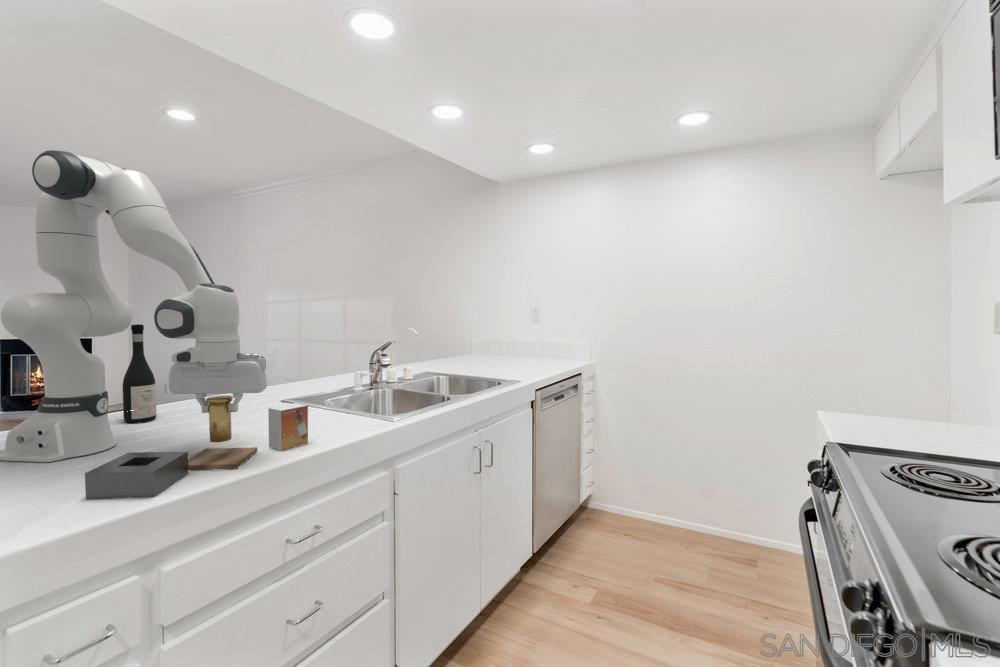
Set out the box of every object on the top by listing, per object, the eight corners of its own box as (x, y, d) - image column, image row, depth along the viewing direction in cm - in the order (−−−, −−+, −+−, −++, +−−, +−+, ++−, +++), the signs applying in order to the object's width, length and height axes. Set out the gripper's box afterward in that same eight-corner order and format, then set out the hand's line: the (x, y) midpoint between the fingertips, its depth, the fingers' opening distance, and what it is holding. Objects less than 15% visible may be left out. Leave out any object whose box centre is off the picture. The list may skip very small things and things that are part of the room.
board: (178, 470, 102) (178, 465, 102) (206, 453, 114) (205, 448, 114) (236, 469, 103) (236, 464, 103) (257, 452, 115) (257, 447, 115)
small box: (281, 451, 116) (280, 410, 115) (268, 447, 119) (267, 407, 118) (308, 443, 123) (308, 405, 122) (296, 440, 126) (295, 402, 125)
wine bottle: (162, 419, 145) (159, 324, 143) (134, 425, 137) (131, 325, 136) (145, 416, 148) (142, 323, 146) (117, 422, 140) (114, 324, 138)
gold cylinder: (203, 443, 105) (202, 400, 105) (214, 436, 110) (213, 395, 110) (227, 442, 106) (226, 399, 105) (237, 436, 111) (236, 395, 110)
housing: (85, 499, 87) (84, 473, 86) (128, 475, 99) (127, 452, 98) (154, 496, 88) (154, 471, 88) (188, 473, 100) (187, 451, 100)
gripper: (270, 352, 111) (271, 408, 112) (179, 352, 109) (181, 409, 109) (260, 354, 105) (261, 414, 106) (163, 355, 102) (165, 416, 103)
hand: (220, 412), depth 108 cm, fingers closed on gold cylinder, 4 cm apart
